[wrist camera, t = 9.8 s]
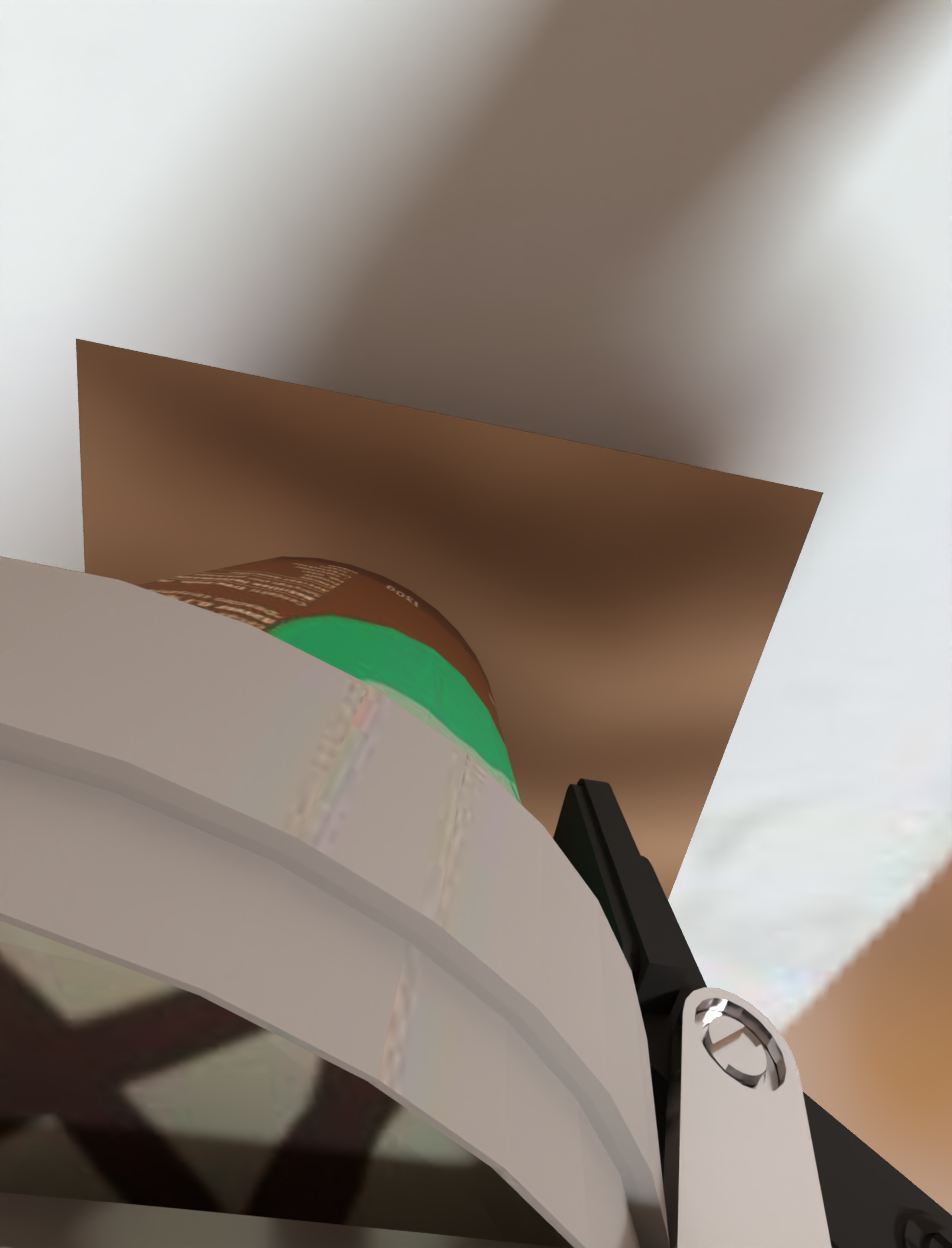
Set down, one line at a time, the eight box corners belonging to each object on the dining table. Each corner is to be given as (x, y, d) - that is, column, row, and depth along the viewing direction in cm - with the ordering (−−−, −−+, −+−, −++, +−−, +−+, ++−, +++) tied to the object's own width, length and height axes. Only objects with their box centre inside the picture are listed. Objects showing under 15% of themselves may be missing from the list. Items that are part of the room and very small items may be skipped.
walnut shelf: (208, 382, 17) (76, 338, 11) (712, 485, 18) (823, 492, 13) (195, 781, 22) (97, 894, 16) (598, 842, 23) (641, 968, 17)
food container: (539, 914, 15) (661, 1714, 5) (331, 919, 15) (84, 1735, 5) (549, 484, 11) (1021, 602, 2) (272, 489, 11) (-913, 642, 2)
